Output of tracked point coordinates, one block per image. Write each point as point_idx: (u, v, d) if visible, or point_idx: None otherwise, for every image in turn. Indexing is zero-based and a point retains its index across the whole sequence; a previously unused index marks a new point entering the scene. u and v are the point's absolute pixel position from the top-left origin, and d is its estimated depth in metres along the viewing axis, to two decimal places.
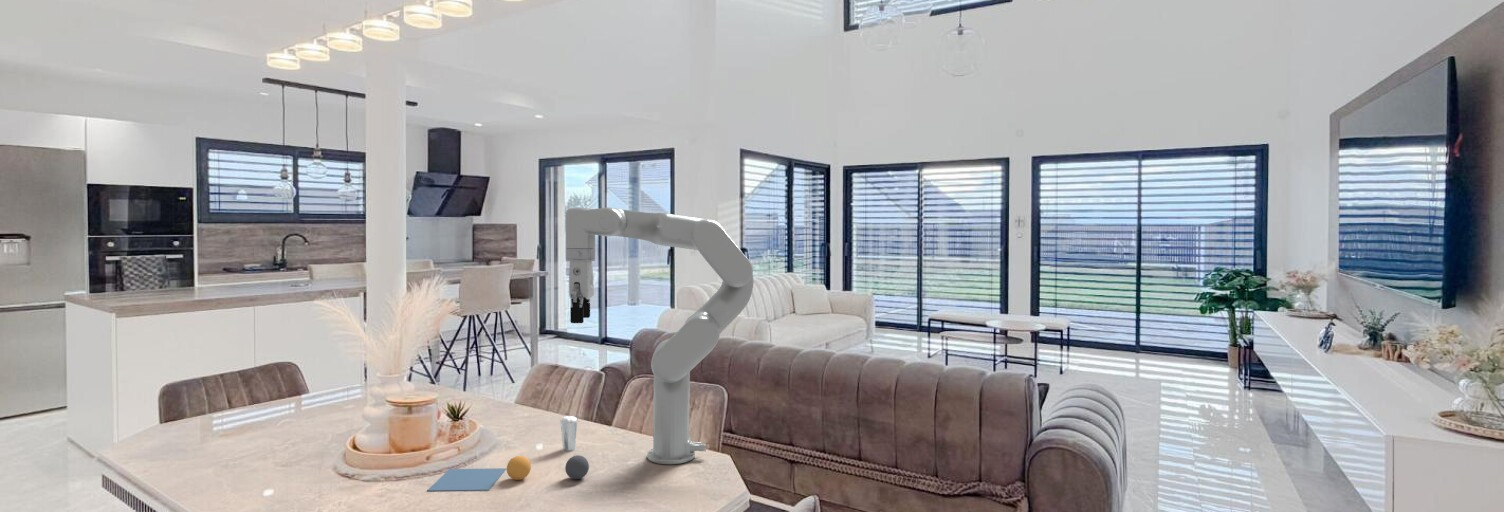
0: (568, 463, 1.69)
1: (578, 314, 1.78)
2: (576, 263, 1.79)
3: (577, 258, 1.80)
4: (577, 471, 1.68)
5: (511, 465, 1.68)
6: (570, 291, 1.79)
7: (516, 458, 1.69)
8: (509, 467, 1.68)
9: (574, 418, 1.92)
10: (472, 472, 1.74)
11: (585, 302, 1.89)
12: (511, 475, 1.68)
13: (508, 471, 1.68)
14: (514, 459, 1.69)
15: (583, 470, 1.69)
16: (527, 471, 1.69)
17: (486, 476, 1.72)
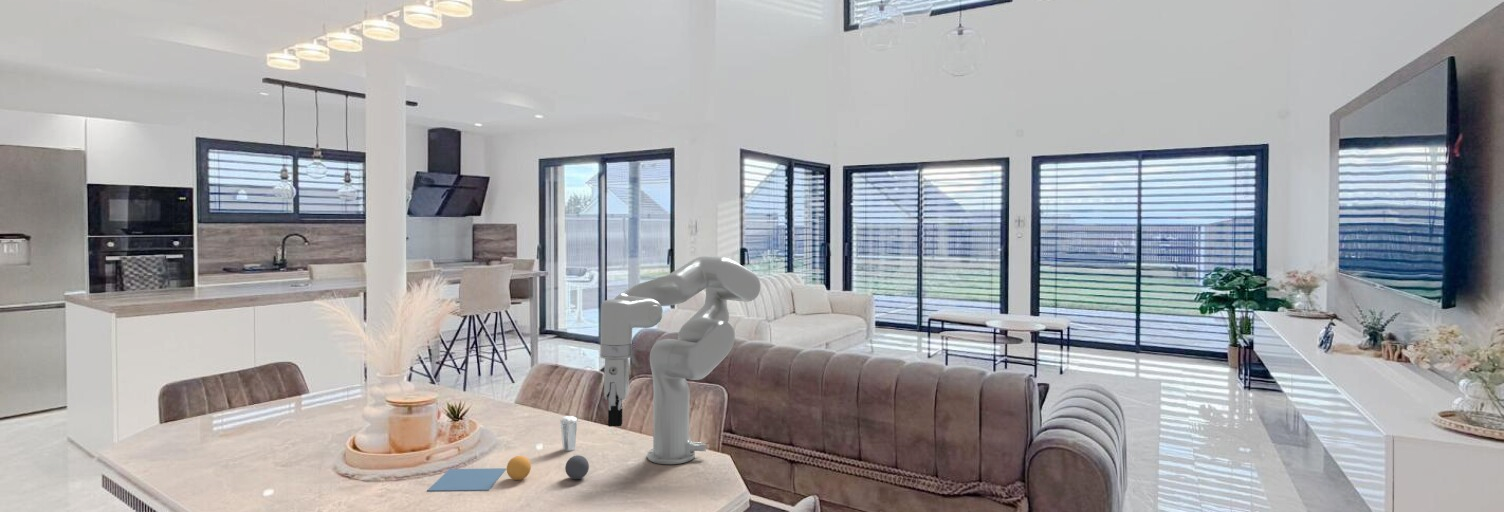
0: (568, 463, 1.69)
1: (616, 417, 1.69)
2: (612, 361, 1.66)
3: (613, 356, 1.67)
4: (577, 471, 1.68)
5: (511, 465, 1.68)
6: (605, 392, 1.65)
7: (516, 458, 1.69)
8: (509, 467, 1.68)
9: (574, 418, 1.92)
10: (472, 472, 1.74)
11: None
12: (511, 475, 1.68)
13: (508, 471, 1.68)
14: (514, 459, 1.69)
15: (583, 470, 1.69)
16: (527, 471, 1.69)
17: (486, 476, 1.72)
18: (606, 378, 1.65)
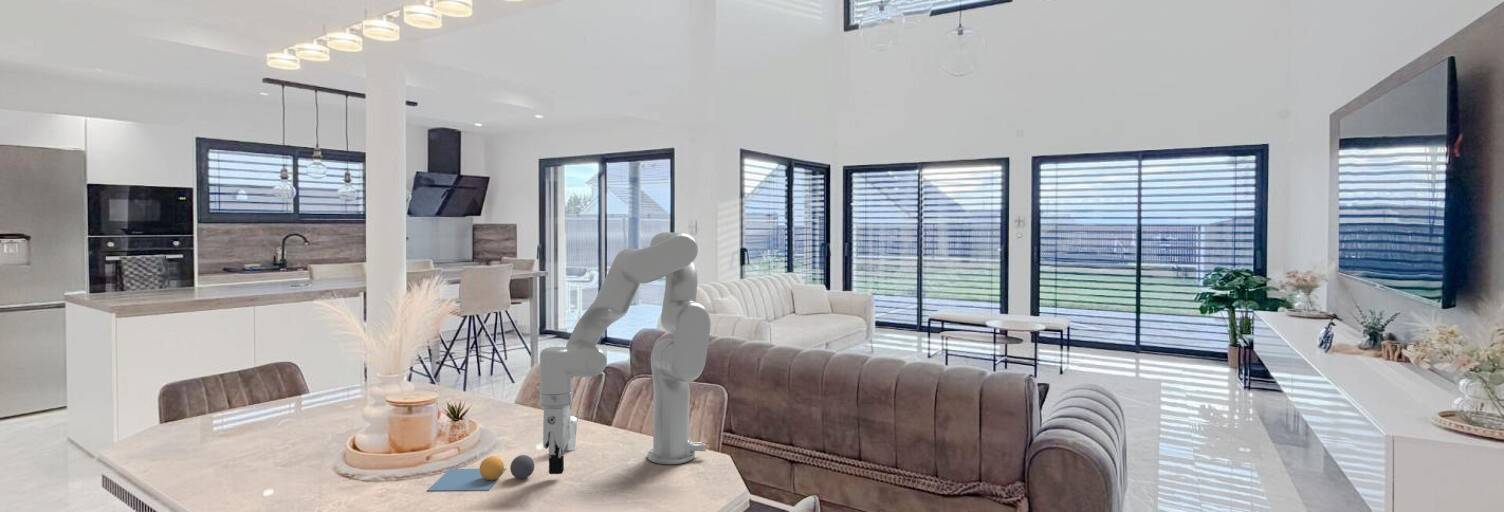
0: (528, 464, 1.69)
1: (557, 465, 1.69)
2: (551, 411, 1.66)
3: (552, 405, 1.66)
4: (517, 471, 1.68)
5: (487, 478, 1.68)
6: (544, 441, 1.65)
7: (483, 477, 1.69)
8: (491, 478, 1.68)
9: (574, 418, 1.92)
10: (472, 472, 1.74)
11: None
12: (495, 472, 1.68)
13: (494, 476, 1.68)
14: (484, 478, 1.69)
15: (516, 476, 1.69)
16: (485, 461, 1.68)
17: None
18: (545, 427, 1.65)
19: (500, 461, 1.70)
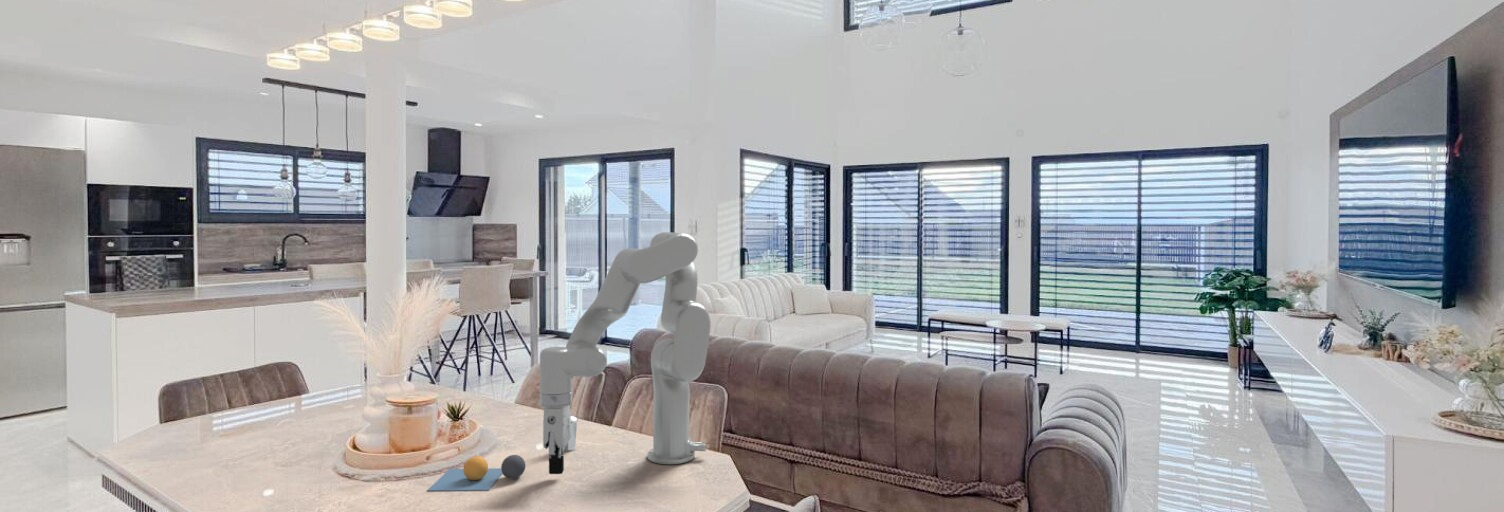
0: (513, 459, 1.69)
1: (557, 465, 1.69)
2: (551, 411, 1.66)
3: (552, 405, 1.66)
4: (508, 472, 1.68)
5: (479, 474, 1.68)
6: (544, 441, 1.65)
7: None
8: (481, 470, 1.68)
9: (574, 418, 1.92)
10: None
11: None
12: (474, 465, 1.67)
13: (479, 466, 1.68)
14: (481, 477, 1.69)
15: (512, 476, 1.69)
16: (464, 473, 1.68)
17: (486, 476, 1.72)
18: (545, 427, 1.65)
19: (470, 458, 1.69)
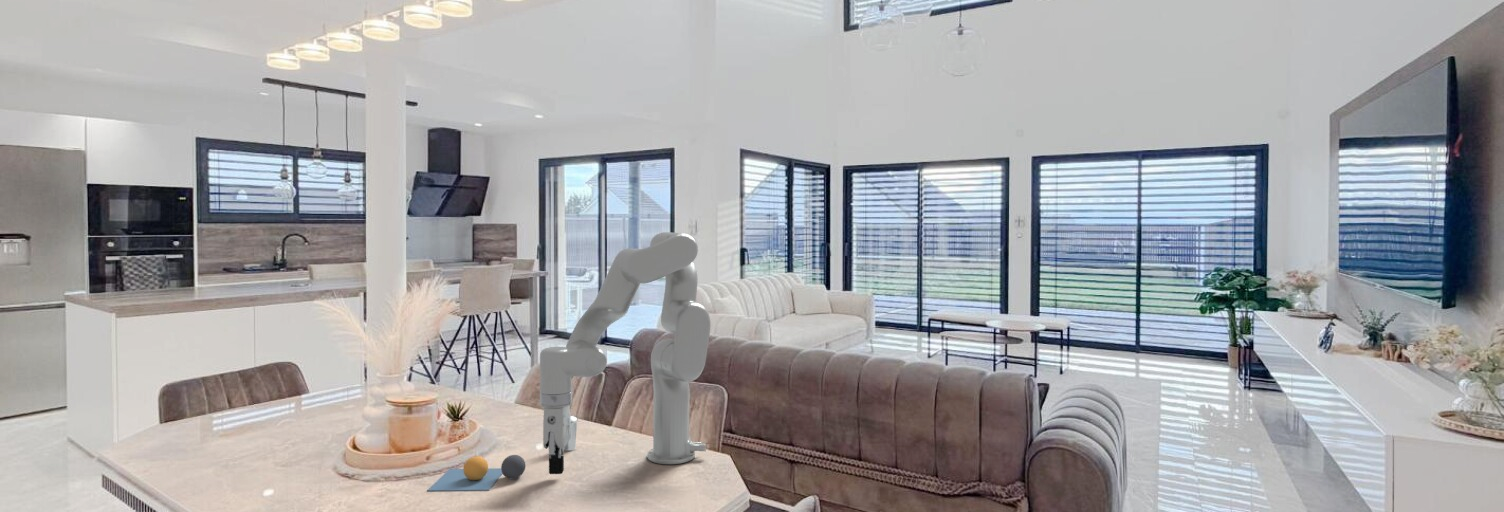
0: (513, 459, 1.69)
1: (557, 465, 1.69)
2: (551, 411, 1.66)
3: (552, 405, 1.66)
4: (508, 472, 1.68)
5: (479, 474, 1.68)
6: (544, 441, 1.65)
7: None
8: (481, 470, 1.68)
9: (574, 418, 1.92)
10: None
11: None
12: (474, 465, 1.67)
13: (479, 466, 1.68)
14: (481, 477, 1.69)
15: (512, 476, 1.69)
16: (464, 473, 1.68)
17: (486, 476, 1.72)
18: (545, 427, 1.65)
19: (470, 458, 1.69)
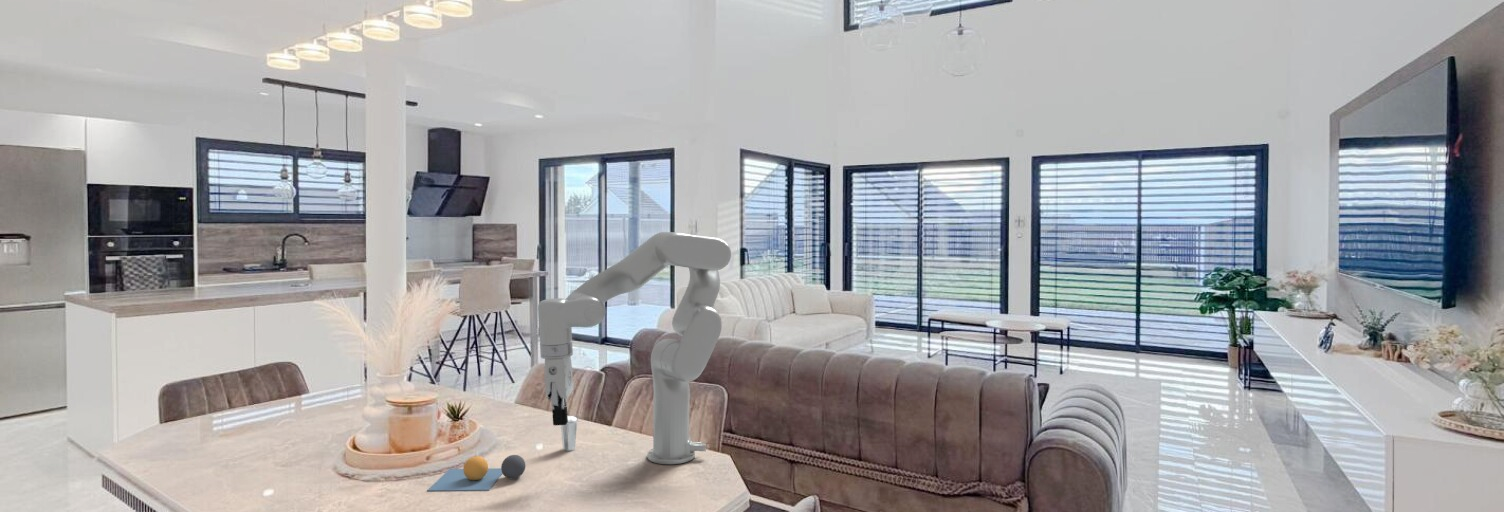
0: (513, 459, 1.69)
1: (561, 416, 1.69)
2: (552, 361, 1.65)
3: (552, 355, 1.66)
4: (508, 472, 1.68)
5: (479, 474, 1.68)
6: (547, 392, 1.65)
7: None
8: (481, 470, 1.68)
9: (574, 418, 1.92)
10: None
11: None
12: (474, 465, 1.67)
13: (479, 466, 1.68)
14: (481, 477, 1.69)
15: (512, 476, 1.69)
16: (464, 473, 1.68)
17: (486, 476, 1.72)
18: (546, 378, 1.65)
19: (470, 458, 1.69)
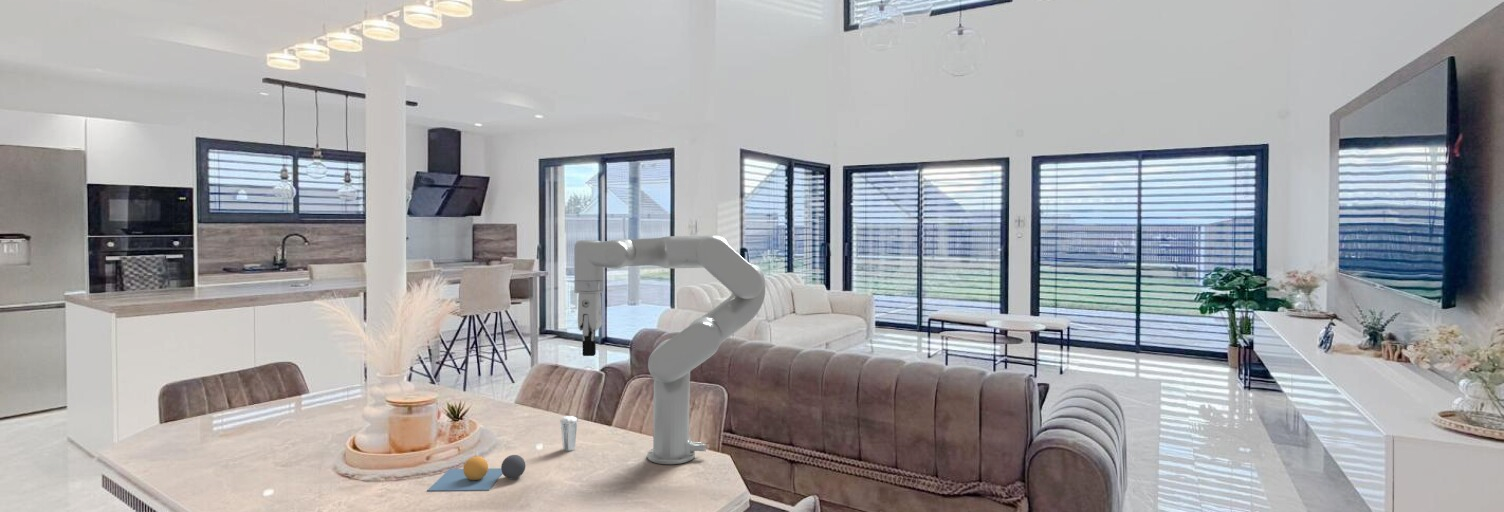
0: (513, 459, 1.69)
1: (590, 347, 1.85)
2: (585, 295, 1.81)
3: (586, 290, 1.82)
4: (508, 472, 1.68)
5: (479, 474, 1.68)
6: (579, 323, 1.81)
7: None
8: (481, 470, 1.68)
9: (574, 418, 1.92)
10: None
11: None
12: (474, 465, 1.67)
13: (479, 466, 1.68)
14: (481, 477, 1.69)
15: (512, 476, 1.69)
16: (464, 473, 1.68)
17: (486, 476, 1.72)
18: (579, 310, 1.81)
19: (470, 458, 1.69)
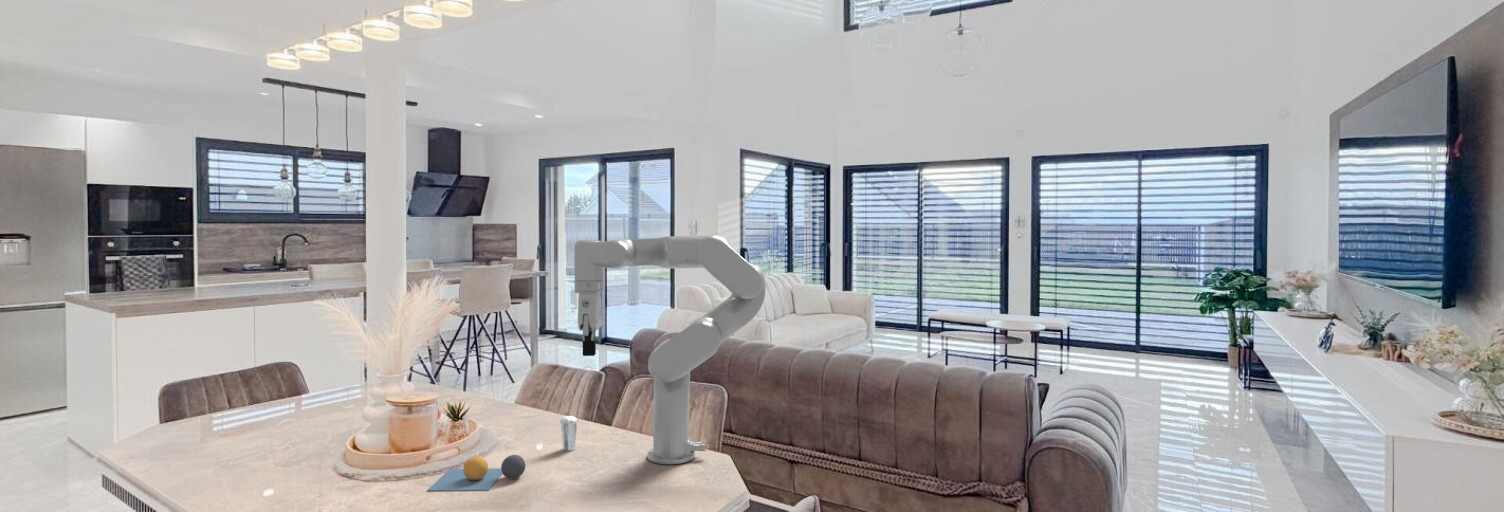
0: (513, 459, 1.69)
1: (590, 347, 1.85)
2: (585, 295, 1.82)
3: (586, 290, 1.82)
4: (508, 472, 1.68)
5: (479, 474, 1.68)
6: (579, 323, 1.81)
7: None
8: (481, 470, 1.68)
9: (574, 418, 1.92)
10: None
11: None
12: (474, 465, 1.67)
13: (479, 466, 1.68)
14: (481, 477, 1.69)
15: (512, 476, 1.69)
16: (464, 473, 1.68)
17: (486, 476, 1.72)
18: (579, 310, 1.81)
19: (470, 458, 1.69)
